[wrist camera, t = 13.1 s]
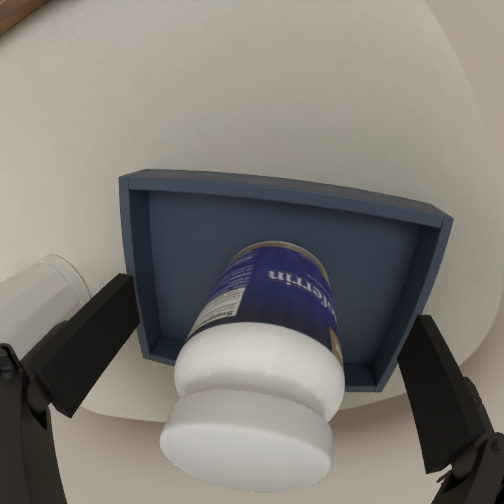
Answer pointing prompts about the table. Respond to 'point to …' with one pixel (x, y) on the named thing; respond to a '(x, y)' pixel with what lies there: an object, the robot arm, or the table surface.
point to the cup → (39, 302)
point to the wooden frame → (16, 11)
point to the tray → (288, 230)
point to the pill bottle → (260, 376)
